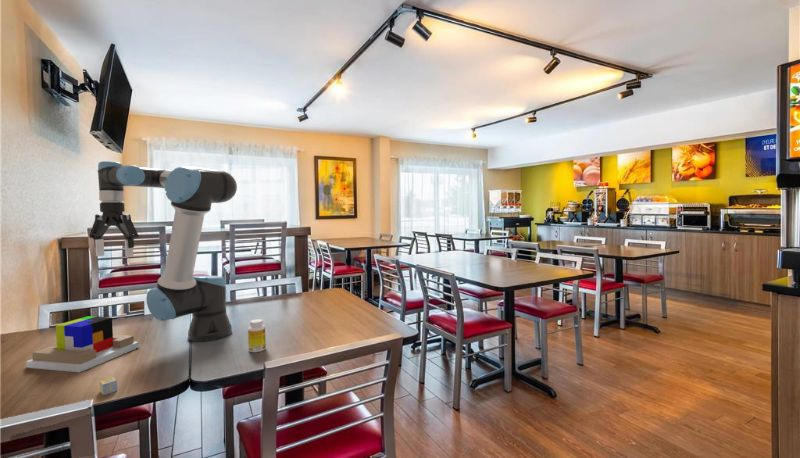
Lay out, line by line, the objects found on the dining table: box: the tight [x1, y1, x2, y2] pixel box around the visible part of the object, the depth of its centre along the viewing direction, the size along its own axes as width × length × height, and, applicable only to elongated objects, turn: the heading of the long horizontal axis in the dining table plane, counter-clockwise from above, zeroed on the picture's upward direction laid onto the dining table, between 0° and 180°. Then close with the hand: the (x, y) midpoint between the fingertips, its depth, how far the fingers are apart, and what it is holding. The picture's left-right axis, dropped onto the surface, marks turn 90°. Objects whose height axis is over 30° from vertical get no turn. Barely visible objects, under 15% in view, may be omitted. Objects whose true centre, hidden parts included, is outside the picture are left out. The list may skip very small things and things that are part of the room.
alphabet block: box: [99, 377, 118, 396], centre depth 97 cm, size 3×3×3 cm
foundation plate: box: [25, 334, 140, 373], centre depth 120 cm, size 20×20×4 cm
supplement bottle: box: [247, 318, 267, 353], centre depth 125 cm, size 6×6×10 cm
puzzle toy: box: [55, 315, 114, 353], centre depth 120 cm, size 10×10×10 cm
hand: (114, 256), depth 142 cm, fingers open, 13 cm apart
